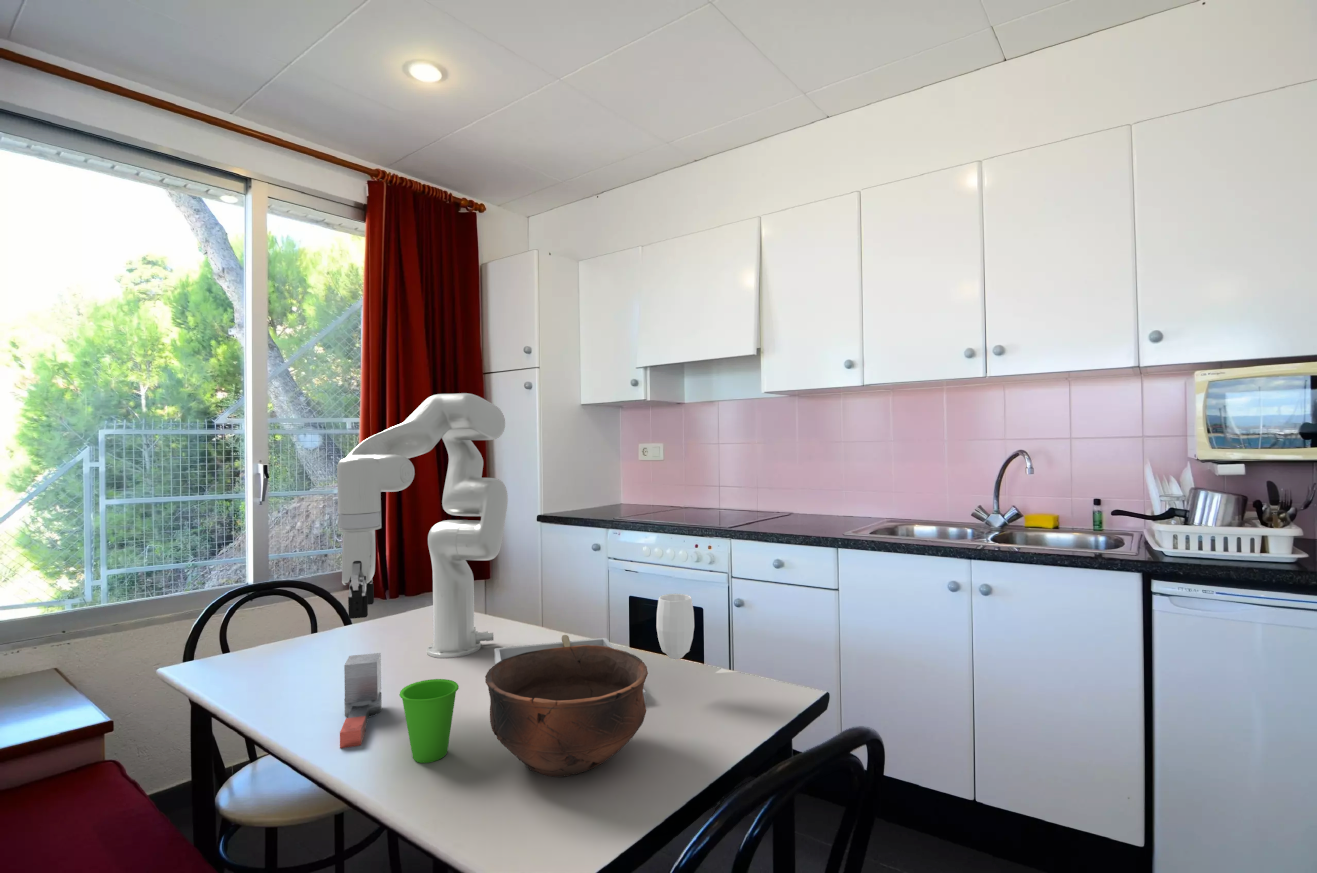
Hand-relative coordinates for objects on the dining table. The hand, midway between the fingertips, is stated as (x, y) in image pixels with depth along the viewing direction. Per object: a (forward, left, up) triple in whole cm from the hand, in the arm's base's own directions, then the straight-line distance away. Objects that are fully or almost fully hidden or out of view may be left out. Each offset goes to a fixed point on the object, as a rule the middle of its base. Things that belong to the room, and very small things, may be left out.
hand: (361, 610), depth 128 cm
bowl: (-34, +34, -19) cm, 52 cm away
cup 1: (-13, +25, -19) cm, 34 cm away
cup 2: (-57, +18, -19) cm, 63 cm away
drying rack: (-38, 0, -19) cm, 43 cm away
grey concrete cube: (0, +2, -16) cm, 16 cm away
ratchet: (0, +2, -19) cm, 19 cm away
